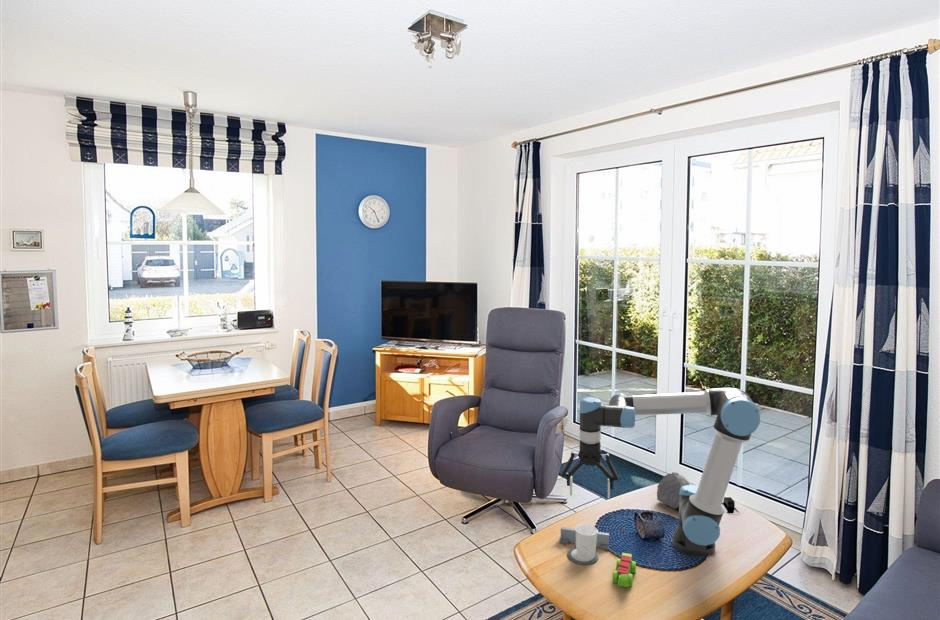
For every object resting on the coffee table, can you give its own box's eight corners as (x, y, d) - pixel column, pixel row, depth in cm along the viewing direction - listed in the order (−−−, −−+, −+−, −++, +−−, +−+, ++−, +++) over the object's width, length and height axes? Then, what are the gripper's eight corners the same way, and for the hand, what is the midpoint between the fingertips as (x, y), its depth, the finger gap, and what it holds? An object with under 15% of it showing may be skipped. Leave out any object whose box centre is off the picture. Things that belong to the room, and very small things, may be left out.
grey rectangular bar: (608, 543, 215) (609, 530, 214) (608, 550, 210) (608, 537, 210) (561, 536, 220) (561, 524, 219) (560, 543, 215) (560, 531, 214)
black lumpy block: (743, 516, 236) (744, 506, 235) (726, 516, 236) (727, 506, 235) (730, 502, 248) (730, 492, 248) (713, 502, 248) (714, 492, 248)
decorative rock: (654, 501, 248) (656, 469, 246) (663, 497, 252) (665, 465, 250) (688, 516, 235) (690, 482, 233) (697, 511, 239) (699, 478, 237)
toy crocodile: (618, 559, 205) (619, 543, 204) (637, 563, 202) (638, 547, 201) (610, 591, 187) (610, 574, 186) (630, 595, 184) (631, 578, 183)
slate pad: (598, 550, 210) (598, 548, 210) (597, 567, 200) (597, 565, 200) (568, 546, 213) (569, 544, 213) (565, 562, 203) (566, 560, 203)
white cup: (597, 562, 202) (597, 536, 200) (574, 560, 203) (575, 534, 202) (596, 550, 209) (597, 525, 208) (574, 548, 211) (575, 523, 209)
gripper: (625, 438, 206) (624, 493, 209) (556, 434, 212) (556, 488, 214) (625, 446, 199) (625, 503, 201) (554, 441, 204) (554, 497, 207)
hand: (589, 495), depth 208 cm, fingers open, 13 cm apart
